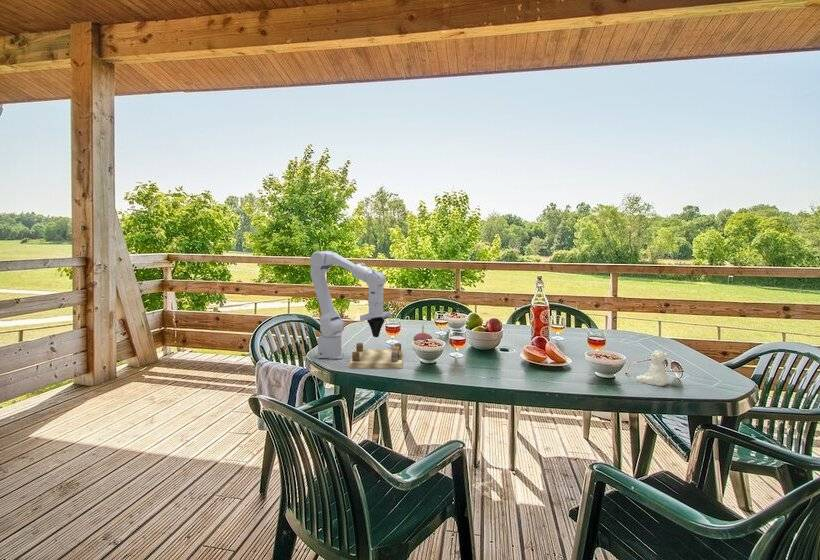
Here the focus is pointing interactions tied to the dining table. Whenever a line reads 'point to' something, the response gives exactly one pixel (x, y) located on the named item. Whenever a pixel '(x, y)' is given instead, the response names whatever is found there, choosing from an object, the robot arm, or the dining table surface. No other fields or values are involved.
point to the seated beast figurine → (655, 370)
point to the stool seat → (375, 358)
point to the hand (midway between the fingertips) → (375, 336)
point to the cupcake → (422, 335)
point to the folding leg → (395, 353)
